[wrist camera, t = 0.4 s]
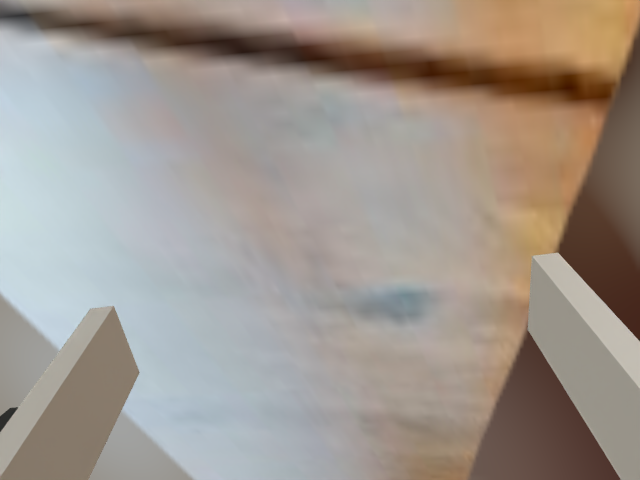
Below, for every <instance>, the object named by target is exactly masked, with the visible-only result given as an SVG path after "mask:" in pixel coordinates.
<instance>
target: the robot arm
mask: <svg viewBox="0 0 640 480" xmlns="http://www.w3.org/2000/svg"><path fill="white" fill-rule="evenodd" d="M528 331H529V332H530V334H531V335H532V337H533V338H534V340H535V342H536V343H537V345H538V347H539V348H540V350H541V351H542V353H543V354H544V356H545V358H546V360H547V361H548V363H549V364H550V366H551V368H552V369H553V371H554V372H555V374H556V376H557V377H558V379H559V380H560V382H561V384H562V385H563V387H564V389H565V390H566V392H567V393H568V395H569V396H570V398H571V399H572V401H573V403H574V405H575V406H576V408H577V409H578V411H579V413H580V414H581V416H582V417H583V419H584V421H585V422H586V424H587V426H588V427H589V429H590V430H591V432H592V434H593V435H594V437H595V438H596V440H597V442H598V443H599V445H600V446H601V448H602V450H603V451H604V453H605V454H606V456H607V458H608V459H609V461H610V462H611V464H612V466H613V467H614V469H615V471H616V472H617V474H618V476H619V477H620V479H621V480H640V339H637V338H636V337H635V336H634V335H633V334H632V333H631V332H630V331H629V330H628V328H627V327H626V326H625V325H624V324H623V323H622V322H621V321H620V320H619V319H618V318H617V316H616V315H615V314H614V313H613V312H612V311H611V310H610V309H609V308H608V307H607V306H606V305H605V303H604V302H603V301H602V300H601V299H600V298H599V297H598V296H597V295H596V294H595V293H594V291H593V290H592V289H591V288H590V287H589V286H588V285H587V284H586V283H585V282H584V281H583V280H582V278H581V277H580V276H579V275H578V274H577V273H576V272H575V271H574V270H573V269H572V268H571V267H570V265H568V263H567V262H566V261H565V260H564V259H563V258H562V257H561V256H560V255H559V253H552V254H544V255H535V256H532V266H531V283H530V301H529V318H528ZM138 375H139V370H138V367H137V365H136V362H135V360H134V357H133V354H132V352H131V349H130V347H129V344H128V342H127V339H126V336H125V334H124V331H123V329H122V326H121V323H120V321H119V318H118V316H117V313H116V311H115V308H114V306H109V307H101V308H92V309H90V310H89V312H88V313H87V314H86V316H85V317H84V318H83V320H82V321H81V323H80V324H79V325H78V327H77V328H76V329H75V331H74V332H73V334H72V335H71V336H70V338H69V339H68V340H67V342H66V343H65V344H64V346H63V347H62V349H61V350H60V351H59V353H58V354H57V355H56V357H55V358H54V360H53V361H52V362H51V364H50V365H49V367H48V368H47V369H46V370H45V372H44V373H43V375H42V376H41V377H40V379H39V380H38V382H37V383H36V384H35V386H34V387H33V388H32V390H31V391H30V392H29V394H28V395H27V396H26V398H25V399H24V401H23V402H22V404H21V405H20V406H19V407H16V408H10V409H9V410H7V411H6V412H5V413H4V414H2V415H1V416H0V480H88V479H89V477H90V475H91V473H92V471H93V469H94V467H95V464H96V462H97V460H98V458H99V456H100V454H101V452H102V450H103V448H104V446H105V444H106V442H107V439H108V437H109V435H110V433H111V431H112V429H113V427H114V425H115V423H116V421H117V418H118V416H119V414H120V412H121V410H122V408H123V406H124V404H125V402H126V400H127V398H128V396H129V393H130V391H131V389H132V387H133V385H134V383H135V381H136V379H137V377H138Z"/></svg>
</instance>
